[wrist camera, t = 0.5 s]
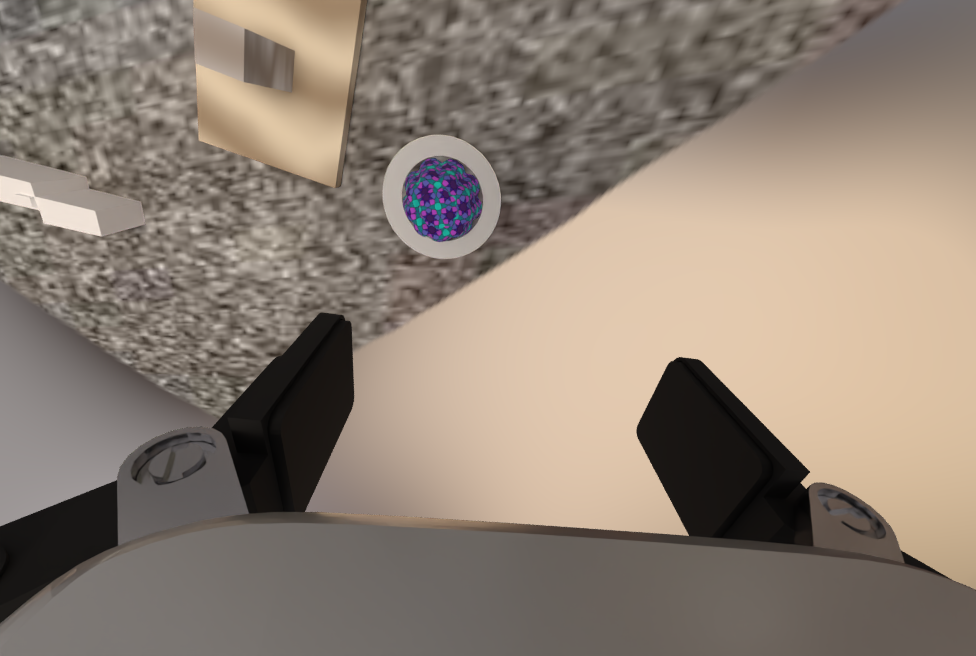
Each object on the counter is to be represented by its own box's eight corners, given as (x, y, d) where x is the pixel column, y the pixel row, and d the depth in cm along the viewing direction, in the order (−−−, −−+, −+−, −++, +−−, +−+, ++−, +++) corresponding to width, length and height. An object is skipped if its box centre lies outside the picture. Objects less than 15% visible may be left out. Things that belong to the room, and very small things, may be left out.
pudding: (369, 144, 33) (352, 145, 29) (493, 126, 33) (496, 124, 28) (400, 263, 39) (390, 280, 35) (506, 249, 39) (509, 265, 34)
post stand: (204, -96, 25) (90, -191, 18) (370, -18, 27) (330, -74, 20) (210, 140, 32) (130, 141, 25) (340, 186, 35) (303, 200, 27)
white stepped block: (-24, 168, 34) (-111, 174, 29) (30, 84, 31) (-57, 75, 26) (133, 284, 40) (83, 305, 35) (190, 224, 37) (145, 238, 32)
